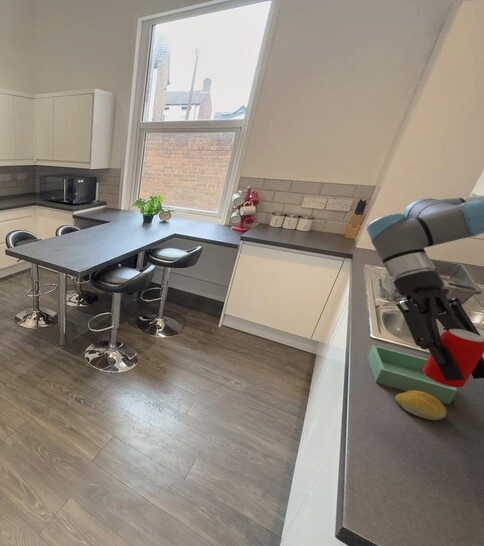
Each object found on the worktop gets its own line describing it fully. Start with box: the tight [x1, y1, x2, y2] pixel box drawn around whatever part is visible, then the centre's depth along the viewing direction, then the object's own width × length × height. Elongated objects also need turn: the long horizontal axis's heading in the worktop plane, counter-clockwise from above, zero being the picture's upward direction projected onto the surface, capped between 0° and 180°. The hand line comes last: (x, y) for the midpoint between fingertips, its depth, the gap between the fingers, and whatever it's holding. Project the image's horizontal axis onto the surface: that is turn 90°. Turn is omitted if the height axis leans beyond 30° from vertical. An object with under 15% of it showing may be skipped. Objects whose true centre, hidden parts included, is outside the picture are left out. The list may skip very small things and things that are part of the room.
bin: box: [366, 344, 458, 405], centre depth 90 cm, size 15×15×5 cm
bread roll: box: [394, 390, 447, 421], centre depth 79 cm, size 8×9×4 cm
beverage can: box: [423, 329, 484, 389], centre depth 66 cm, size 6×6×12 cm
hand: (469, 378), depth 63 cm, fingers closed on beverage can, 6 cm apart
